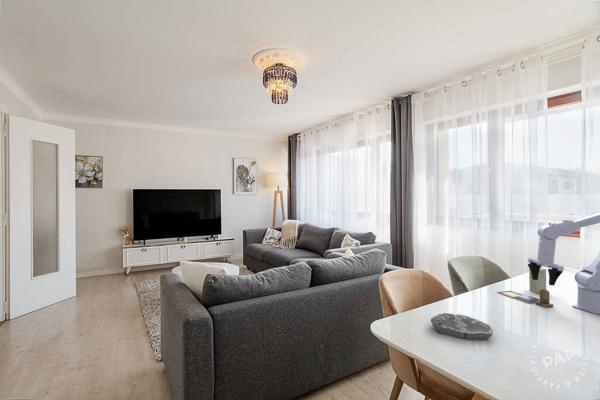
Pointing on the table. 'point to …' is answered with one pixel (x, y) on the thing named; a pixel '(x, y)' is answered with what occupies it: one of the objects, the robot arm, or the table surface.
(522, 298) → the ink pad
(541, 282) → the skincare box
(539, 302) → the stamp
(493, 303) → the table surface
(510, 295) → the beige square tile
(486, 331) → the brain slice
